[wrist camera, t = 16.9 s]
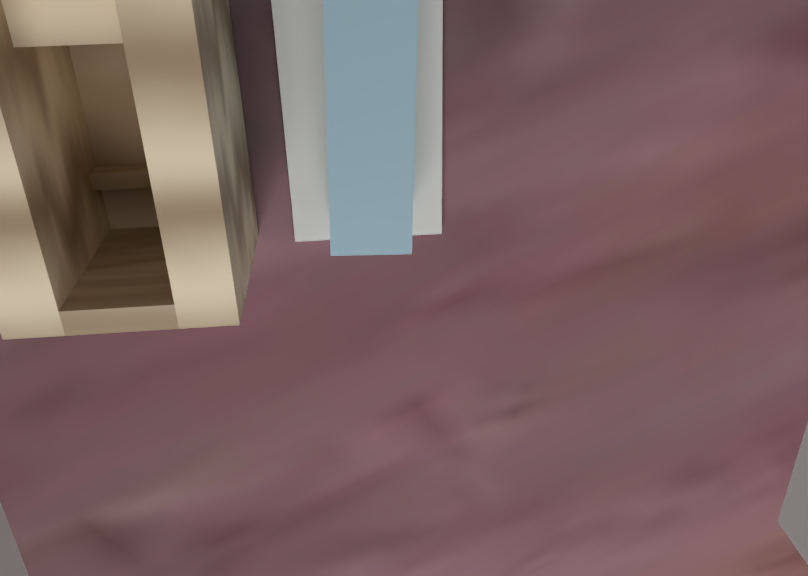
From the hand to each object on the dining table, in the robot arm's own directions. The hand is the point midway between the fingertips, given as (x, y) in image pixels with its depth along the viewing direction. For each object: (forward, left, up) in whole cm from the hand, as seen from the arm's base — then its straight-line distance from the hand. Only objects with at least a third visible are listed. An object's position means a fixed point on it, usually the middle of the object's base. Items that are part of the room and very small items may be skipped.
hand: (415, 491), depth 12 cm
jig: (-11, +4, -29) cm, 31 cm away
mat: (0, -1, -29) cm, 29 cm away
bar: (0, +1, -28) cm, 28 cm away
